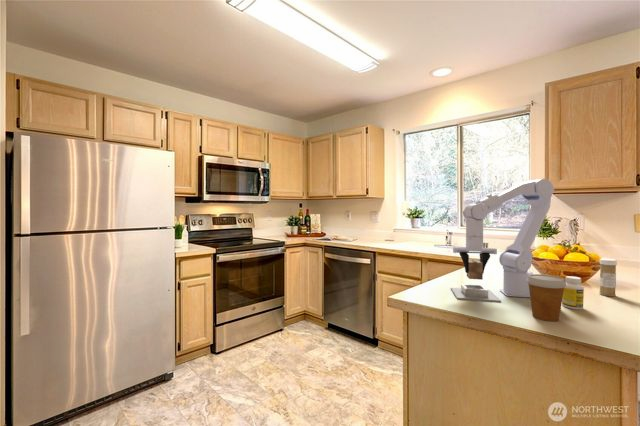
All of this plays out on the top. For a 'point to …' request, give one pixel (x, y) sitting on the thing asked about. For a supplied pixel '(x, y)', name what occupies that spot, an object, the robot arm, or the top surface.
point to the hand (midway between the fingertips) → (474, 272)
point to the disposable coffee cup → (546, 296)
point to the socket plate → (461, 296)
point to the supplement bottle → (573, 293)
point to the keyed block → (475, 270)
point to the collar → (474, 290)
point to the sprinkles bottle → (607, 277)
